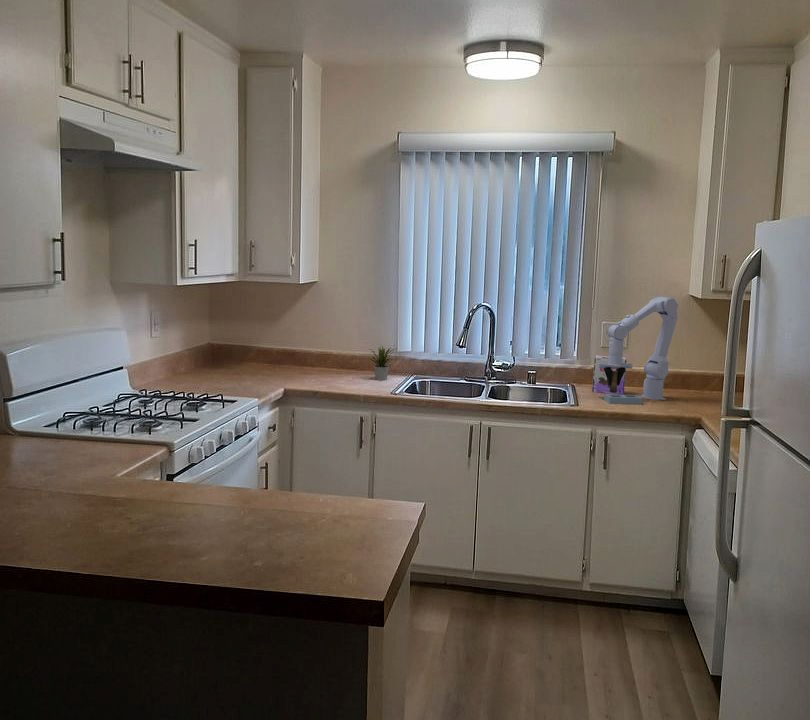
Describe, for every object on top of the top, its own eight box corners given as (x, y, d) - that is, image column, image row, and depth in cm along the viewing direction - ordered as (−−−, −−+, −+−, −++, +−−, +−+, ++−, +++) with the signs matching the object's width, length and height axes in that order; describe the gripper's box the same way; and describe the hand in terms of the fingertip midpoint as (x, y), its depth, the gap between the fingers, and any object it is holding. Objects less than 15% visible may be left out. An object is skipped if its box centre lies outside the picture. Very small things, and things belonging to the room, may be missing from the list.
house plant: (405, 380, 372) (406, 345, 370) (381, 383, 364) (382, 347, 361) (385, 376, 383) (386, 342, 381) (362, 378, 374) (363, 343, 372)
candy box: (591, 393, 358) (594, 356, 356) (592, 391, 364) (595, 354, 361) (623, 395, 354) (626, 358, 352) (624, 393, 360) (627, 357, 357)
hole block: (604, 401, 339) (604, 394, 338) (636, 402, 340) (637, 395, 339) (609, 404, 332) (609, 397, 332) (642, 405, 333) (643, 398, 333)
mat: (597, 397, 347) (598, 396, 347) (620, 398, 348) (620, 397, 348) (603, 401, 339) (603, 400, 339) (626, 401, 340) (627, 400, 340)
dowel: (608, 391, 345) (609, 370, 343) (615, 391, 345) (616, 370, 344) (610, 392, 342) (612, 371, 340) (617, 392, 342) (619, 371, 341)
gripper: (601, 354, 336) (599, 386, 338) (635, 355, 338) (633, 387, 339) (596, 352, 343) (594, 383, 345) (629, 352, 344) (627, 384, 346)
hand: (613, 385), depth 343 cm, fingers closed on dowel, 3 cm apart
